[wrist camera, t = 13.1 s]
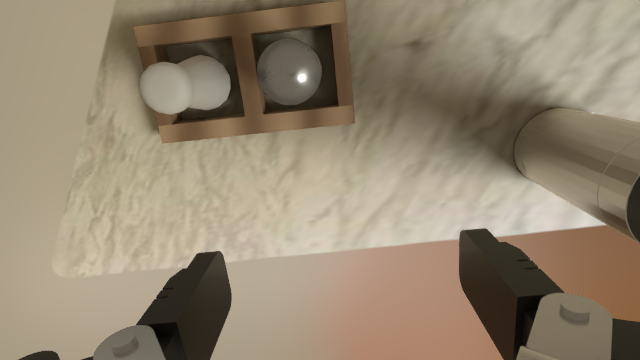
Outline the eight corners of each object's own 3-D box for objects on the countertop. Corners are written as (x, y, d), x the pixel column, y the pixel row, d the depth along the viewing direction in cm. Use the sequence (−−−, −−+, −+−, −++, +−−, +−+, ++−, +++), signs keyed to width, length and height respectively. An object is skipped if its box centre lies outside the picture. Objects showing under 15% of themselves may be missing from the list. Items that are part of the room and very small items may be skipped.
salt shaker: (244, 93, 42) (210, 106, 29) (203, 115, 43) (153, 137, 30) (218, 46, 40) (169, 38, 28) (176, 70, 41) (111, 73, 29)
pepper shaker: (319, 41, 40) (316, 34, 30) (324, 92, 42) (324, 101, 32) (270, 47, 40) (252, 42, 31) (277, 97, 42) (262, 108, 32)
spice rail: (343, 4, 39) (344, -1, 36) (353, 119, 42) (354, 123, 40) (147, 29, 40) (133, 26, 37) (173, 138, 44) (162, 143, 41)
